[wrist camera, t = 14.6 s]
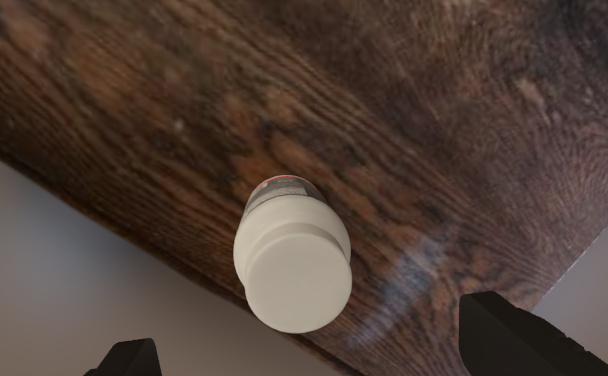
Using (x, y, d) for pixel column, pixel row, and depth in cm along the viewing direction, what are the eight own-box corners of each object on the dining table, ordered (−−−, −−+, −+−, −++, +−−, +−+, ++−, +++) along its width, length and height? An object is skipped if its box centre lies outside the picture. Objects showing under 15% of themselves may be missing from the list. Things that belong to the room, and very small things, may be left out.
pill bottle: (335, 234, 21) (388, 321, 12) (263, 261, 21) (256, 372, 12) (310, 161, 20) (345, 192, 11) (233, 189, 20) (197, 247, 10)
